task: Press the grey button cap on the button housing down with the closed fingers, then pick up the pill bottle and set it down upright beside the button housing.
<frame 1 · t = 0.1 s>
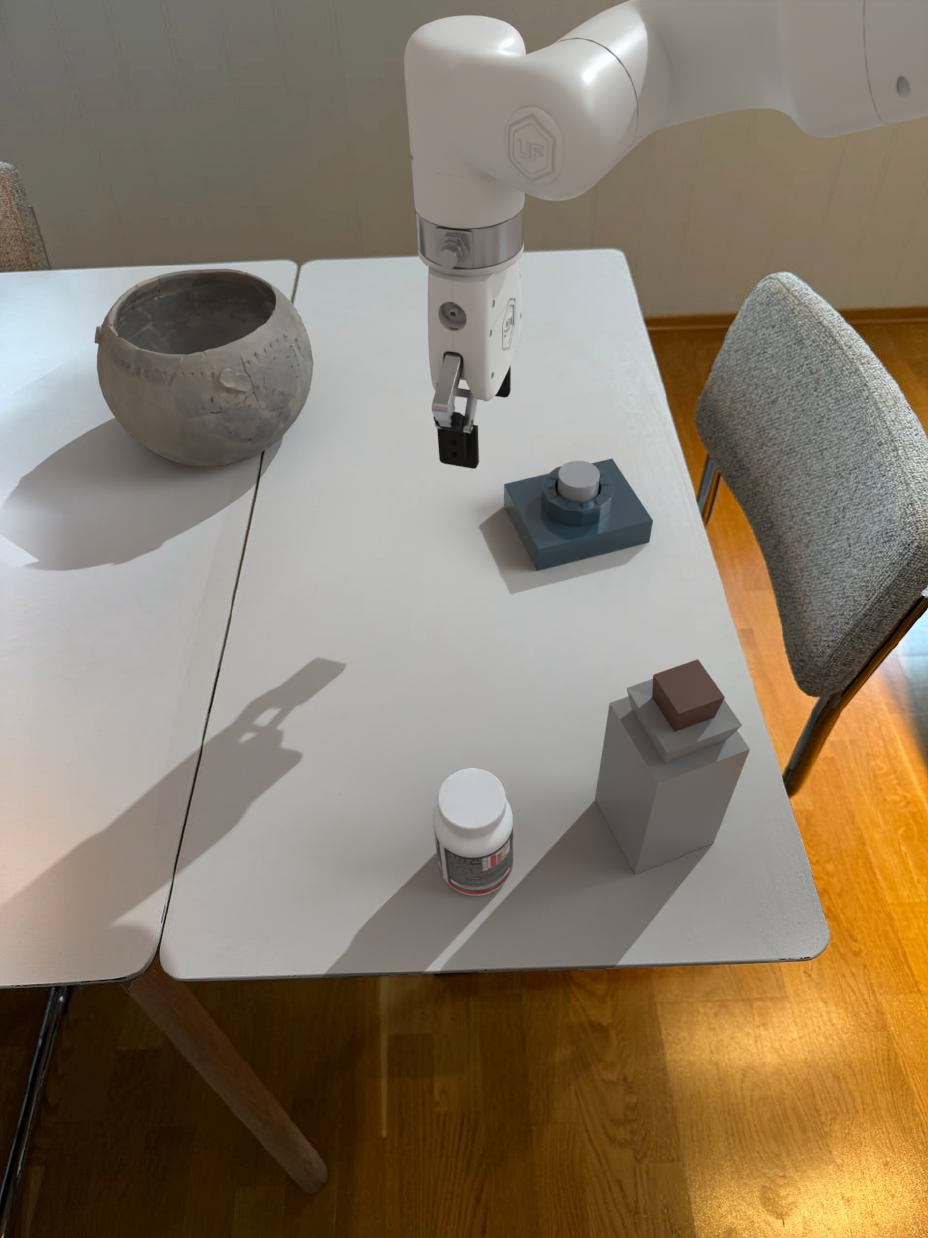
hand: (476, 427, 76), 17 cm above the table, tool pointing down, fingers open, 9 cm apart
bowl: (226, 425, 105), on the table
button housing: (575, 523, 92), on the table
pill bottle: (475, 863, 69), on the table
grey button cap: (578, 481, 88), point 6 cm above the table, slide at 0.1 cm
perfume bottle: (652, 822, 70), on the table
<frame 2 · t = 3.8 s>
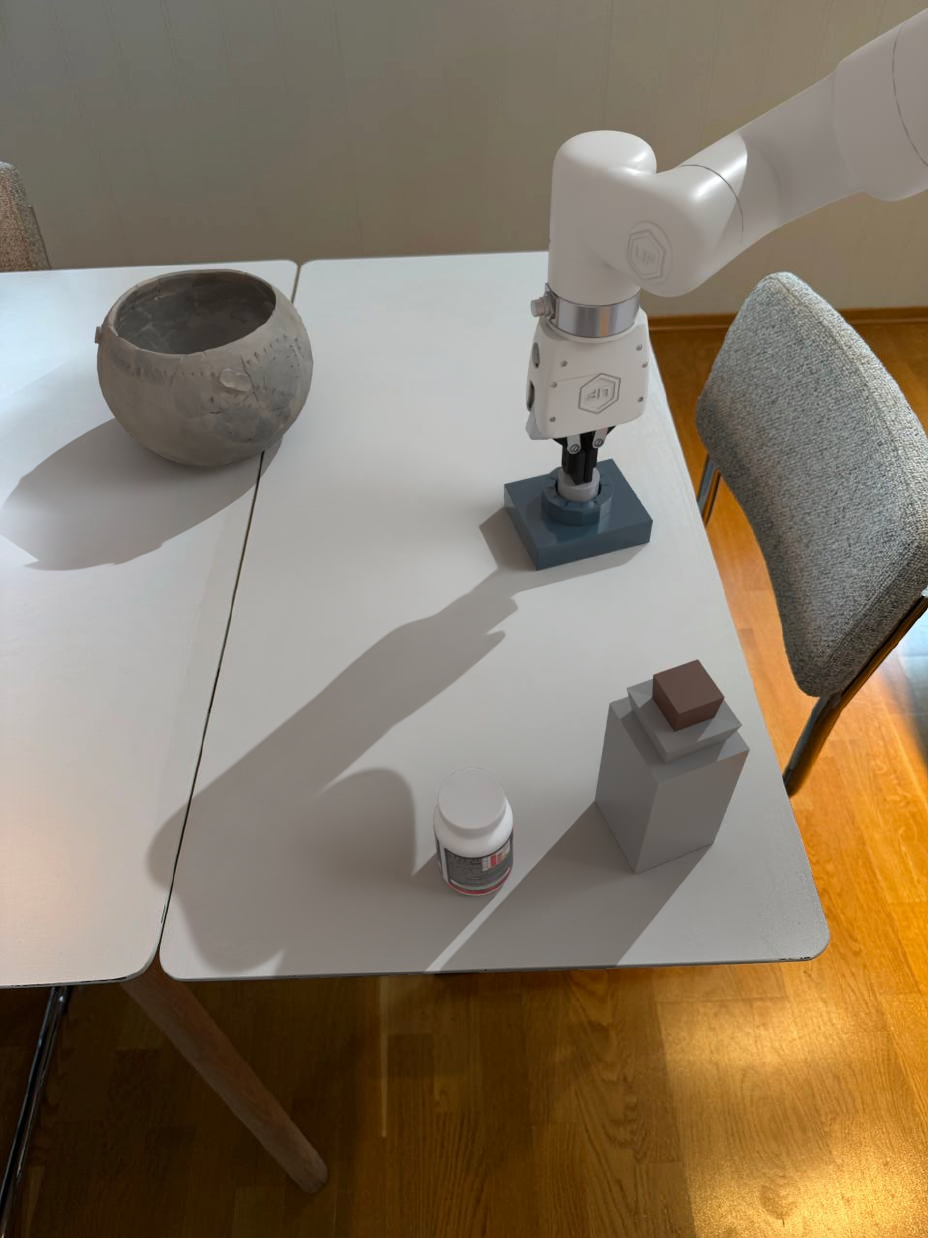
hand: (577, 474, 87), 6 cm above the table, tool pointing down, fingers closed
grey button cap: (578, 483, 88), point 5 cm above the table, slide at -0.1 cm, touching gripper
everything else where it was.
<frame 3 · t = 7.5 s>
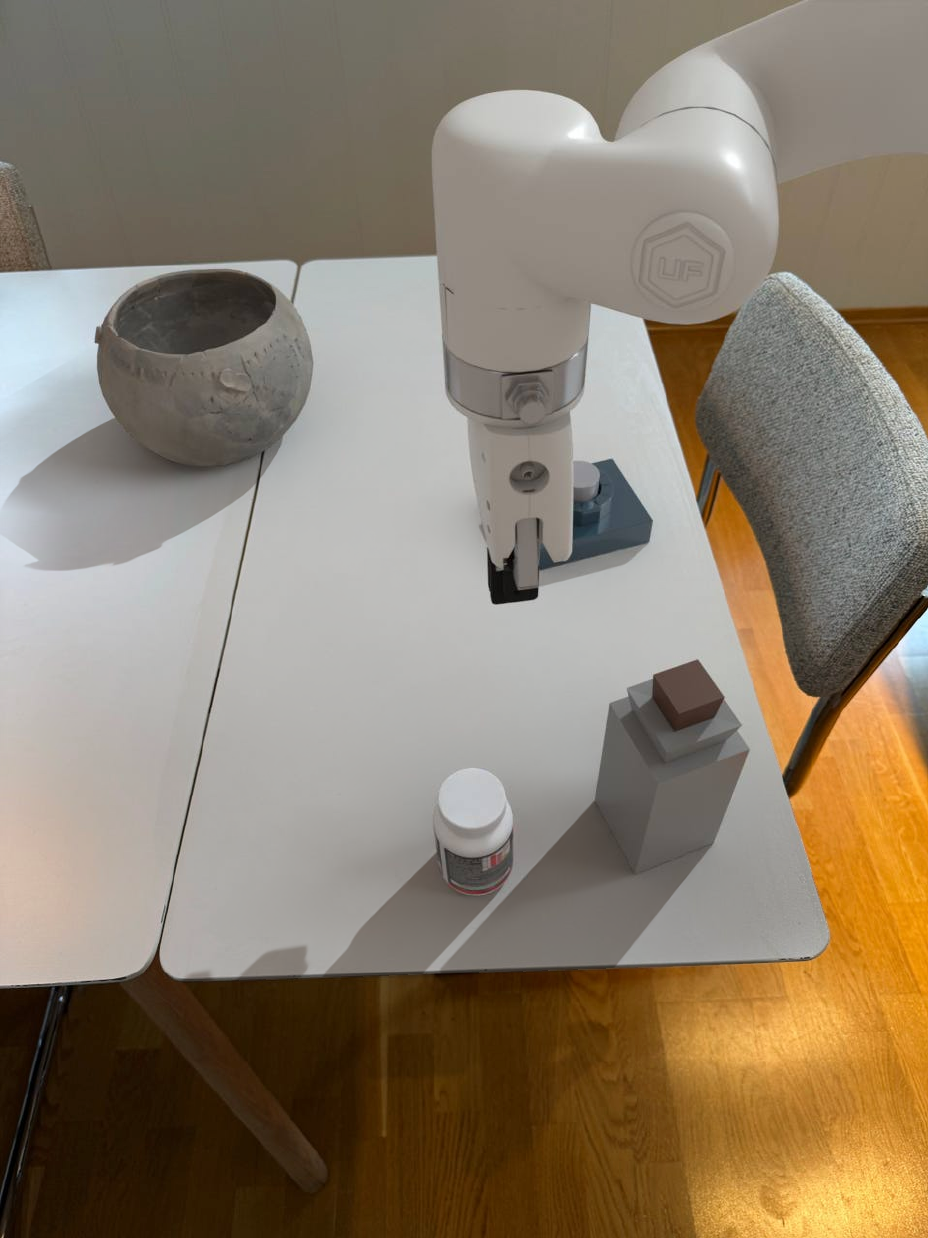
hand: (512, 593, 61), 19 cm above the table, tool pointing down, fingers closed
grey button cap: (578, 481, 88), point 6 cm above the table, slide at 0.1 cm
everything else where it was.
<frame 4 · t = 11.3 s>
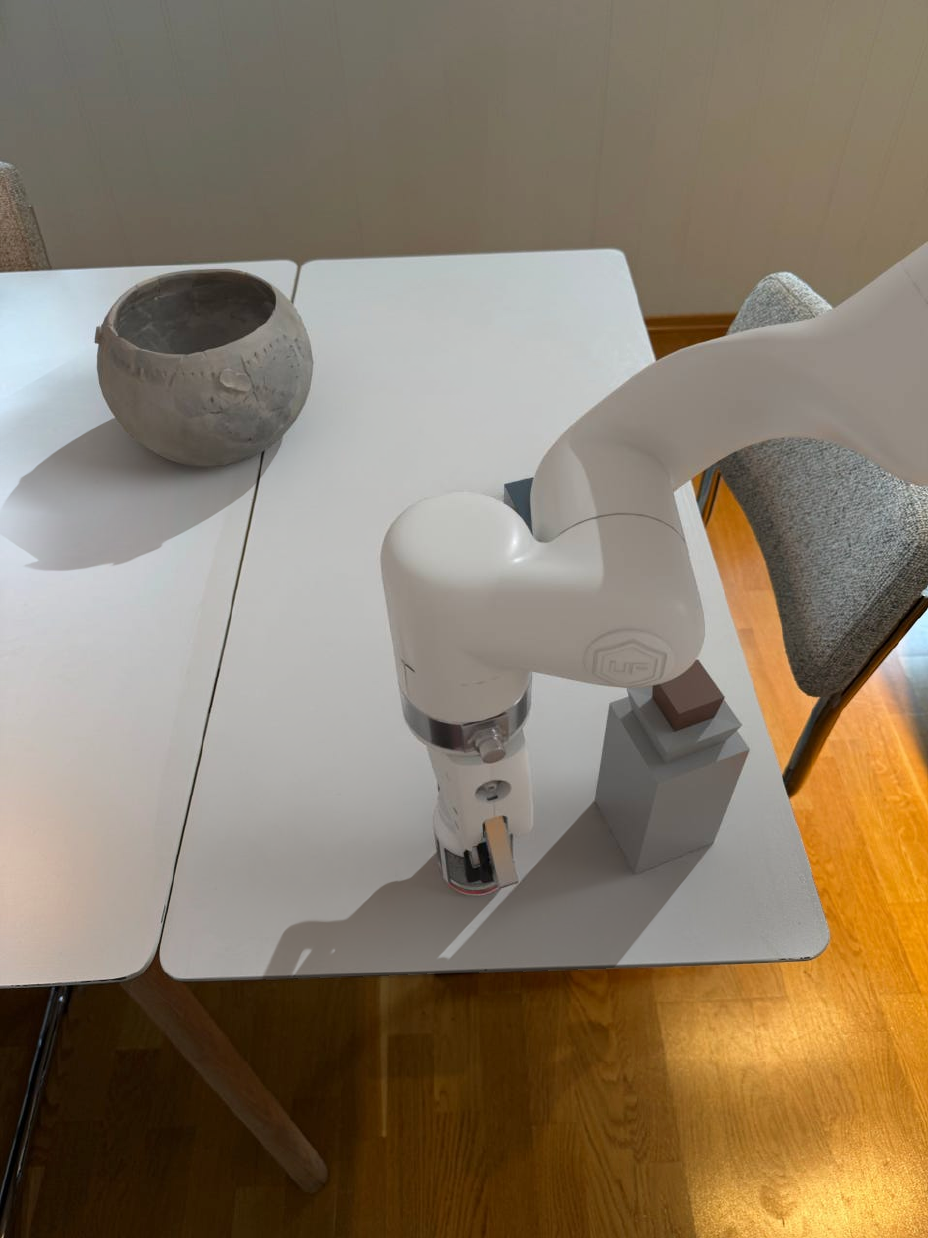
hand: (473, 832, 65), 5 cm above the table, tool pointing down, fingers closed on pill bottle, 5 cm apart
pill bottle: (475, 863, 69), on the table, touching gripper
everything else where it was.
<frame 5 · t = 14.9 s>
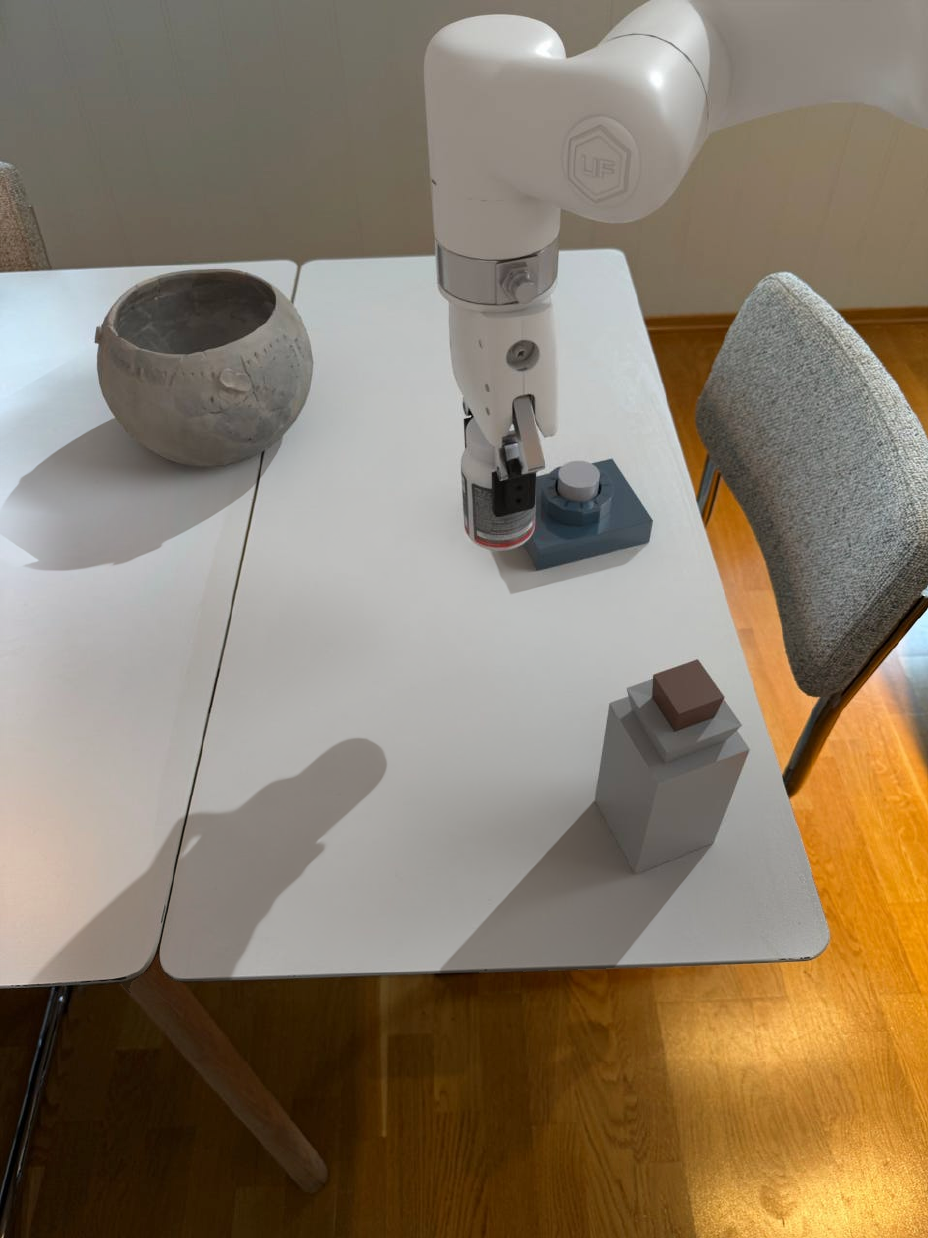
hand: (499, 481, 69), 19 cm above the table, tool pointing down, fingers closed on pill bottle, 5 cm apart
pill bottle: (499, 530, 73), point 13 cm above the table, touching gripper
everything else where it was.
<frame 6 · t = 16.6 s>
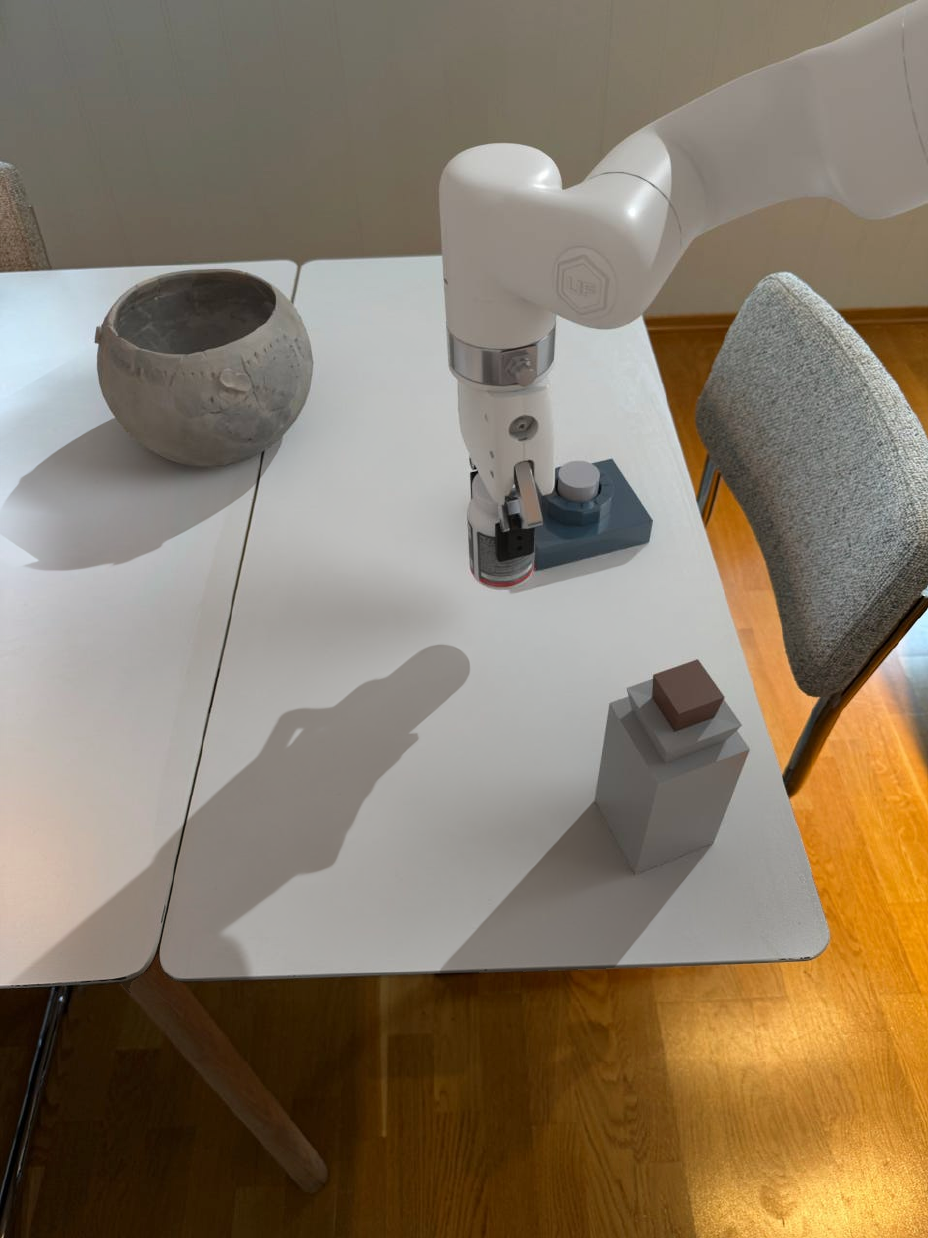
hand: (501, 528, 76), 11 cm above the table, tool pointing down, fingers closed on pill bottle, 5 cm apart
pill bottle: (501, 570, 80), point 6 cm above the table, touching gripper
everything else where it was.
when the fingers open (5 cm above the table, at t = 18.4 s): pill bottle stays where it is, on the table.
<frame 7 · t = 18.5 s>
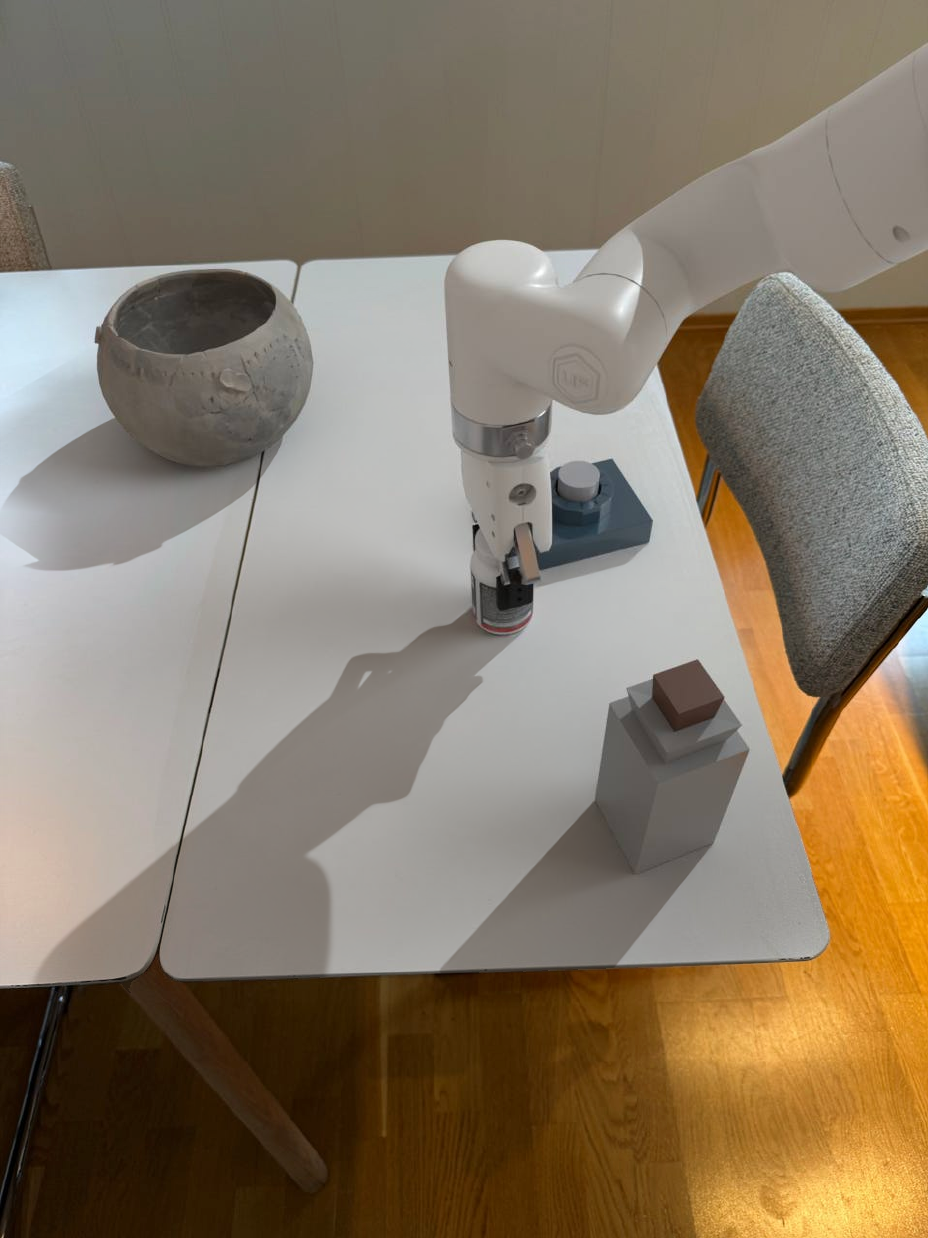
hand: (502, 577, 81), 5 cm above the table, tool pointing down, fingers open, 5 cm apart
pill bottle: (502, 615, 85), on the table
everything else where it was.
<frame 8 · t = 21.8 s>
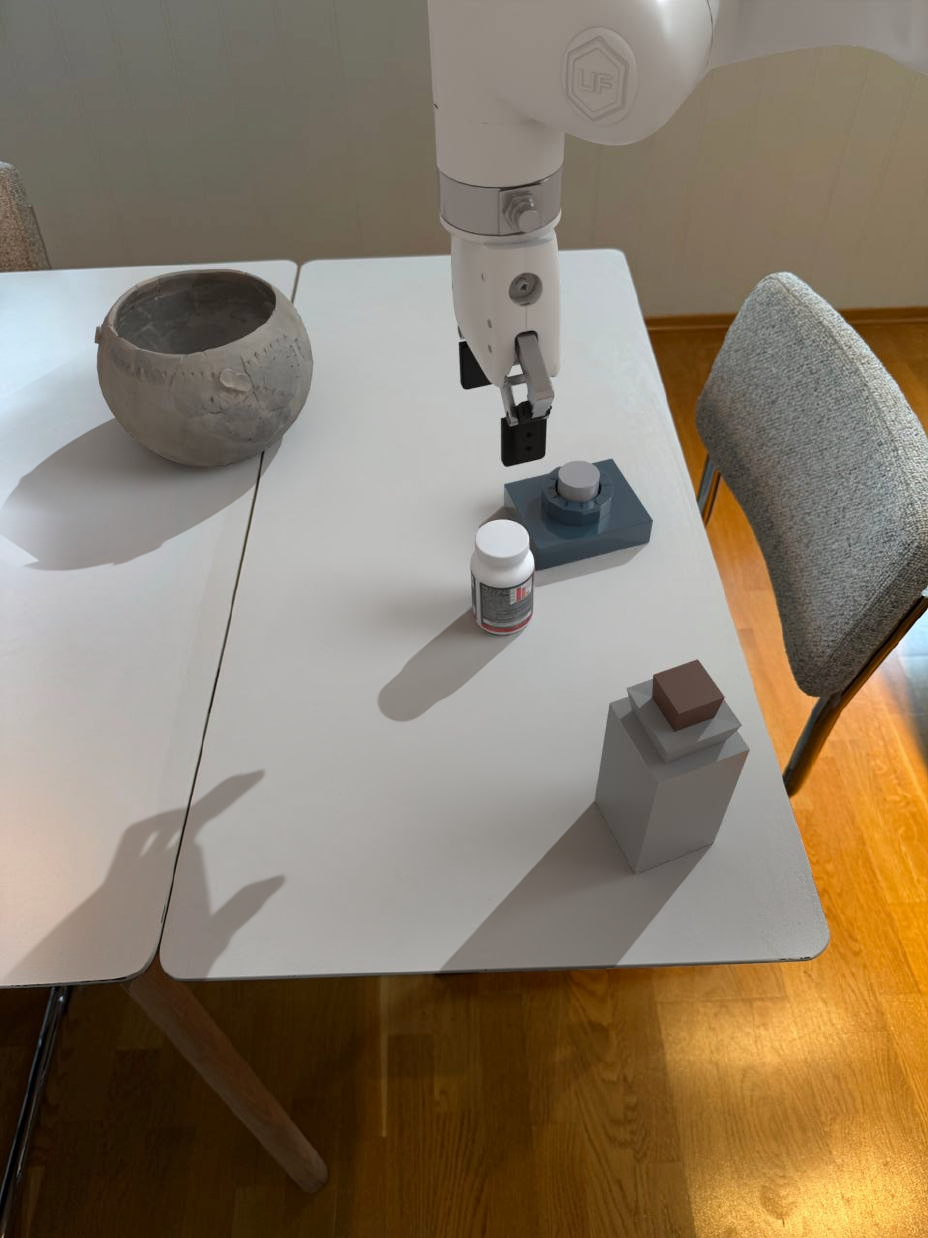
hand: (501, 420, 68), 22 cm above the table, tool pointing down, fingers open, 9 cm apart
nothing on the table moved.
at the end: grey button cap pushed in 1.2 cm at the most during the clip, back to where it started at the end; grey button cap slide at 0.1 cm; pill bottle 0.1 cm from the target spot on the table beside the button housing, on the table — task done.
